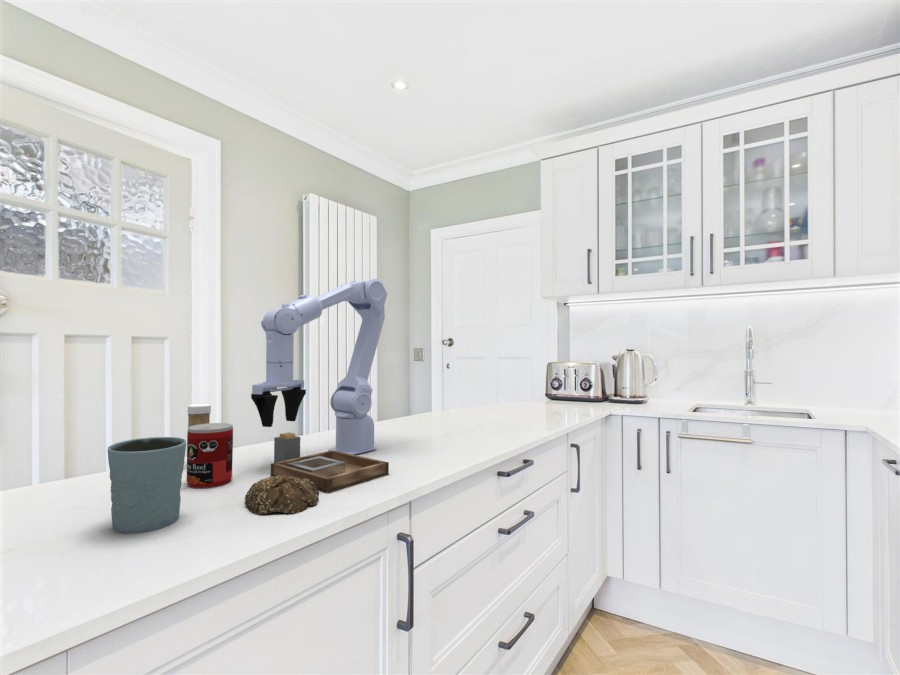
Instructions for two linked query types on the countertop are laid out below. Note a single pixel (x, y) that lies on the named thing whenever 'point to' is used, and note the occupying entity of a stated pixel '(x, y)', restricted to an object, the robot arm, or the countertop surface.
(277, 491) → the bread roll
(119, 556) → the countertop surface
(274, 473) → the tray
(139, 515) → the green plant pot
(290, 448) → the block
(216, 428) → the canned food
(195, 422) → the sprinkles bottle
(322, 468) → the socket
